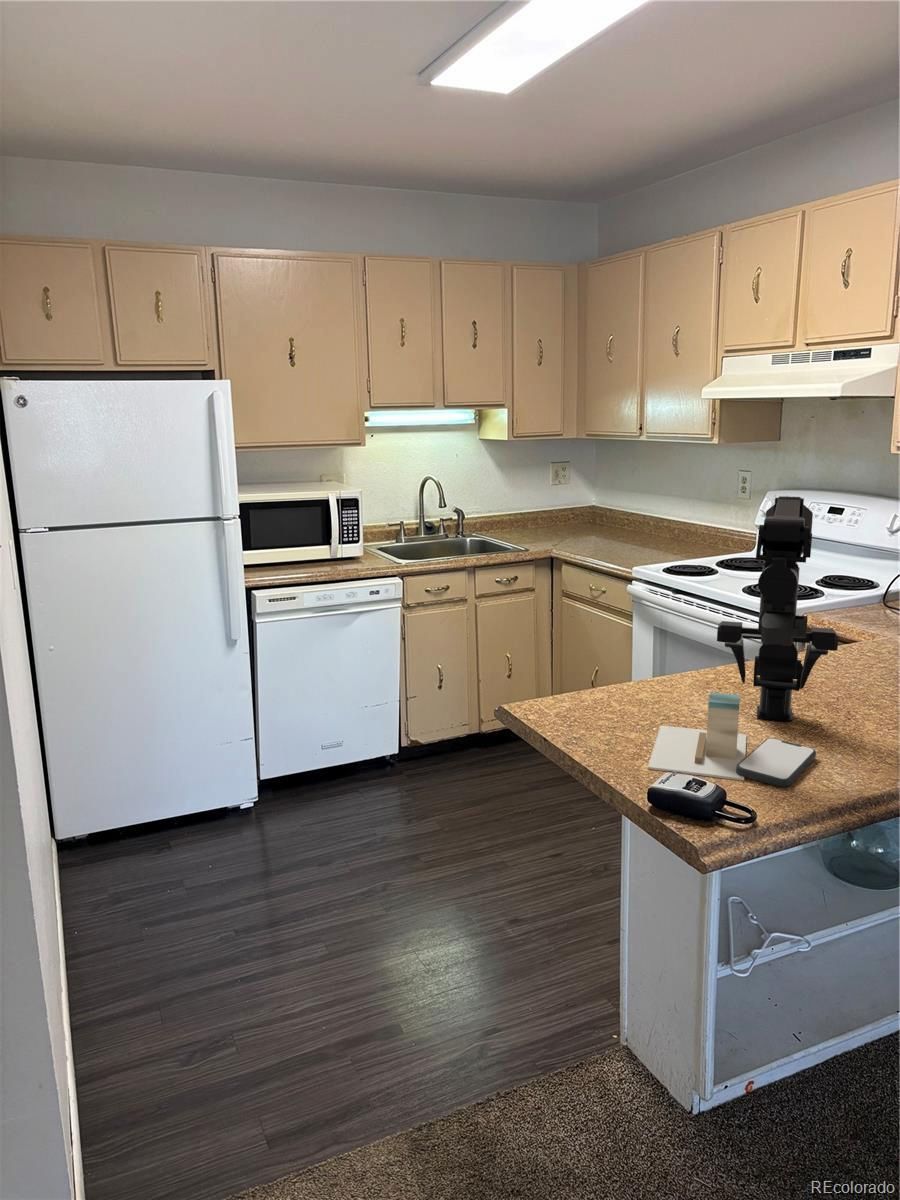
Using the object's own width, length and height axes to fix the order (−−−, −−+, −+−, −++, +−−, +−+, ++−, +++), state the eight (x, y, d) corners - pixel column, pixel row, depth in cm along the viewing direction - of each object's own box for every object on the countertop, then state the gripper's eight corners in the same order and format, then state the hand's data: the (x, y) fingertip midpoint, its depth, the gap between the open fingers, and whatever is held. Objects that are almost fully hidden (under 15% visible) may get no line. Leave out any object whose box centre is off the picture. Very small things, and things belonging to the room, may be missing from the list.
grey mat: (660, 727, 164) (660, 720, 164) (746, 736, 159) (746, 729, 158) (647, 768, 146) (647, 761, 145) (744, 780, 140) (744, 772, 140)
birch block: (707, 745, 154) (710, 692, 152) (736, 748, 152) (740, 695, 150) (705, 756, 149) (708, 701, 147) (735, 759, 148) (739, 704, 145)
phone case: (786, 790, 137) (817, 757, 149) (787, 781, 136) (818, 749, 148) (732, 775, 142) (766, 744, 154) (733, 766, 142) (767, 736, 154)
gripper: (718, 596, 139) (712, 691, 141) (844, 604, 132) (836, 702, 135) (721, 588, 149) (715, 676, 151) (838, 595, 143) (830, 686, 145)
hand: (772, 685), depth 145 cm, fingers open, 9 cm apart
